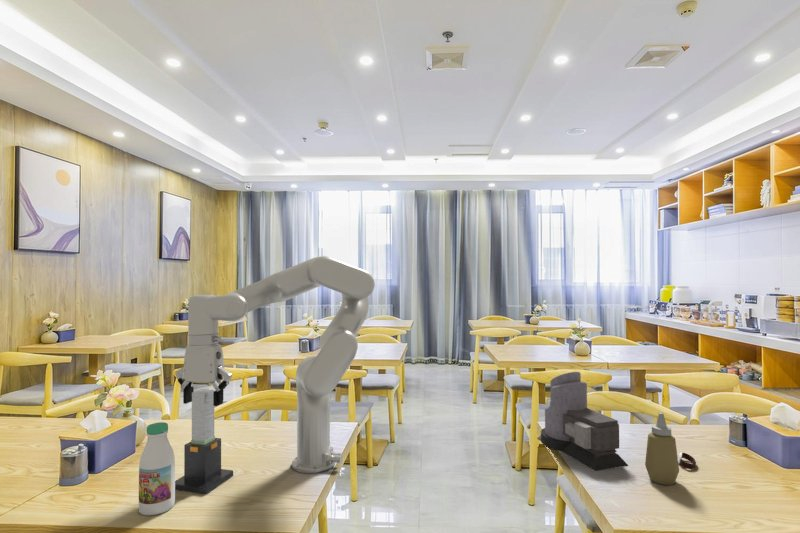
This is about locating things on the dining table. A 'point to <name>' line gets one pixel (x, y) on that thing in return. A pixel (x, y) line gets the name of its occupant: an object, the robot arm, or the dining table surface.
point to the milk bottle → (157, 472)
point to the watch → (685, 464)
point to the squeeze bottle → (661, 454)
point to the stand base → (202, 468)
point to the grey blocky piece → (579, 426)
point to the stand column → (202, 417)
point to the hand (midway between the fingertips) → (203, 403)
